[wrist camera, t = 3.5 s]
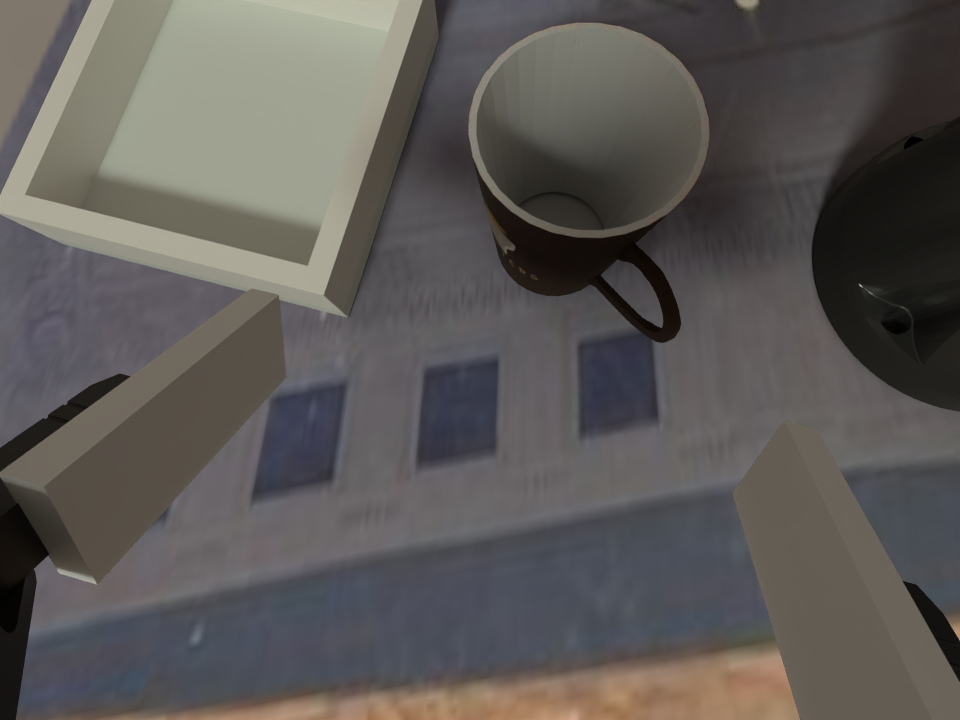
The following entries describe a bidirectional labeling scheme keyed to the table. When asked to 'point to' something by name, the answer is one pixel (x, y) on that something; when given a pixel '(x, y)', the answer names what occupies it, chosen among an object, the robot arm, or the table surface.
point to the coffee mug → (586, 157)
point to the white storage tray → (229, 138)
